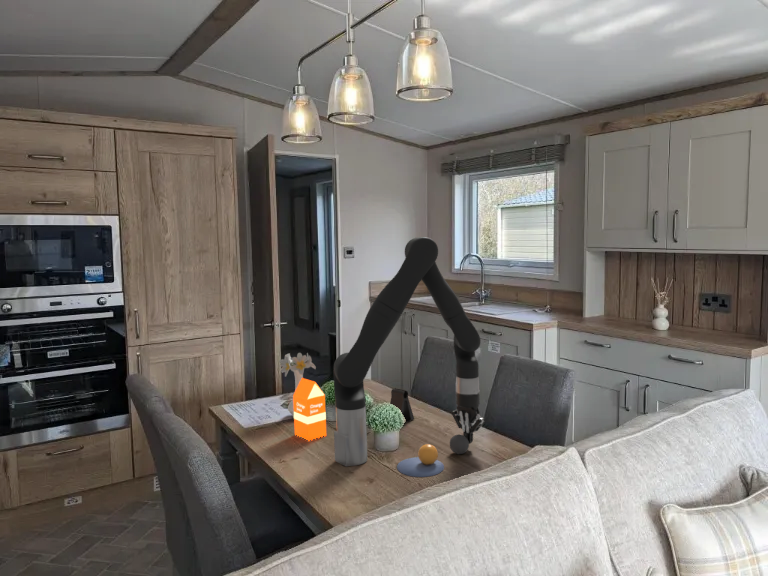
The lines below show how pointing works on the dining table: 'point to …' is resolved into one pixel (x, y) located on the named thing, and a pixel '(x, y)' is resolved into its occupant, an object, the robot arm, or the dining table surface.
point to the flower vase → (295, 370)
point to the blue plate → (419, 467)
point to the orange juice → (309, 410)
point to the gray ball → (459, 444)
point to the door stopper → (402, 403)
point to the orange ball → (428, 454)
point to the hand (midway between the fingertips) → (468, 442)
